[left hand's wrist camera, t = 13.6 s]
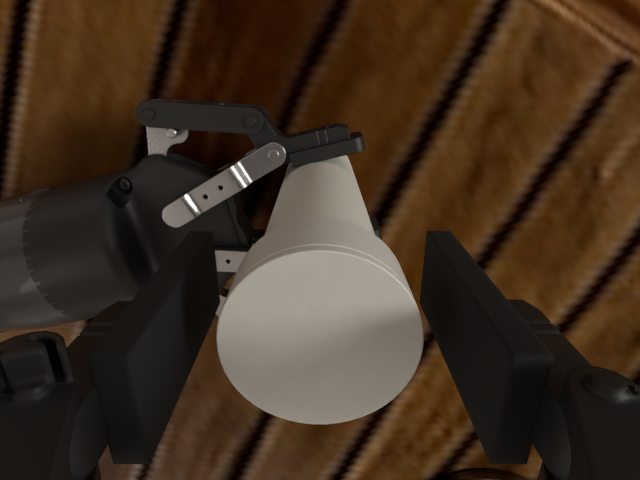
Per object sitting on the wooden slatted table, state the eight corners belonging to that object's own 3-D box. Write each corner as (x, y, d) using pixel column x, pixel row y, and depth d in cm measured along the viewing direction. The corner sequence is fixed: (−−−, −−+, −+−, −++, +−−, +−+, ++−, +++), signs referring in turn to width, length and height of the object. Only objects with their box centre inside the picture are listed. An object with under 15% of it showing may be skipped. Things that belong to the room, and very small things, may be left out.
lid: (246, 371, 13) (231, 429, 11) (221, 222, 11) (198, 257, 9) (404, 362, 13) (421, 420, 11) (406, 211, 11) (427, 243, 9)
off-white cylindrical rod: (282, 146, 27) (217, 270, 10) (346, 135, 27) (394, 243, 10) (294, 207, 29) (256, 407, 11) (355, 198, 28) (410, 386, 11)
